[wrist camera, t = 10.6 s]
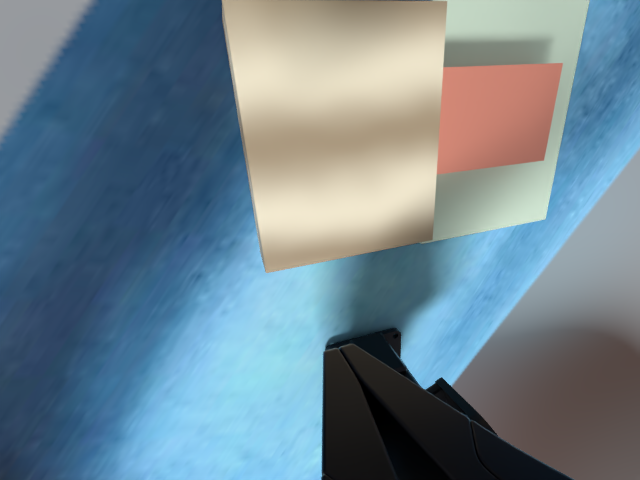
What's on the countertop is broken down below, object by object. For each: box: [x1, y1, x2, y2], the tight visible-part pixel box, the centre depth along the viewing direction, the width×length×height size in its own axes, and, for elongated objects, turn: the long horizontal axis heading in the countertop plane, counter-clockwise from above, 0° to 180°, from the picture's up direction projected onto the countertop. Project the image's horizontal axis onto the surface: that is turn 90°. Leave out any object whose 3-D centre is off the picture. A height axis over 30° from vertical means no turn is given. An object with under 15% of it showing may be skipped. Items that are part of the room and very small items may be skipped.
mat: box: [420, 0, 590, 244], centre depth 22 cm, size 16×12×1 cm
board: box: [222, 0, 447, 273], centre depth 18 cm, size 13×11×3 cm
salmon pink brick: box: [437, 63, 563, 174], centre depth 20 cm, size 9×6×2 cm, turn 94°
